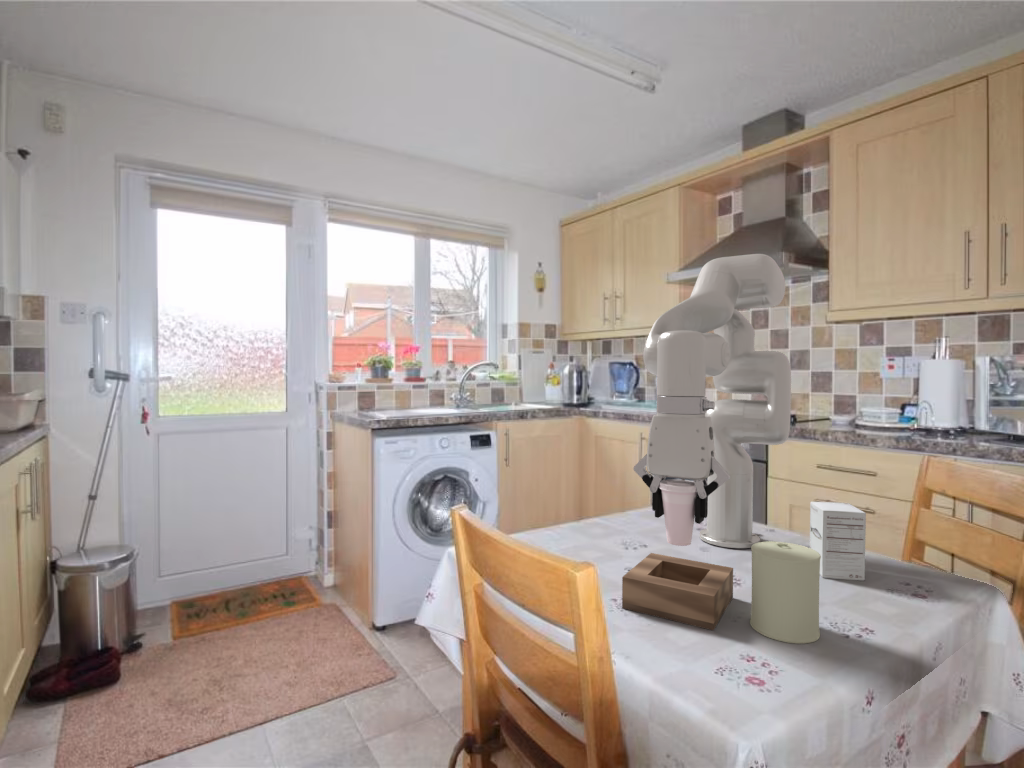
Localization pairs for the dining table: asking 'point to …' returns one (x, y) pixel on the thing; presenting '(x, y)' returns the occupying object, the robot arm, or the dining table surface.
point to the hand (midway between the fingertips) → (679, 517)
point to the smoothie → (679, 510)
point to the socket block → (678, 590)
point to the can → (785, 592)
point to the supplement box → (838, 539)
